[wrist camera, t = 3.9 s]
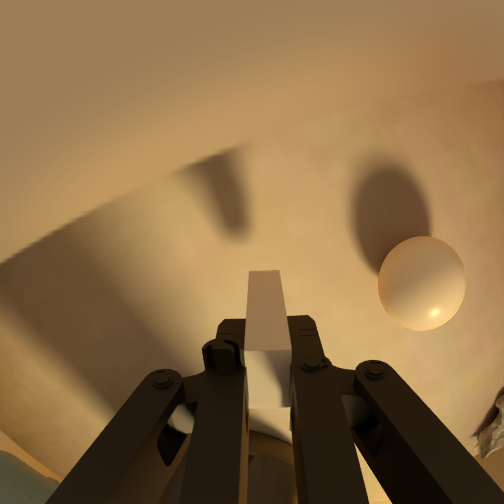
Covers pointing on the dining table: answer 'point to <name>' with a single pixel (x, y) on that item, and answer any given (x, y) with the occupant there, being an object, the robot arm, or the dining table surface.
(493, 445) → the mineral specimen
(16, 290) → the dining table surface
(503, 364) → the dining table surface
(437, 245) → the cue ball
